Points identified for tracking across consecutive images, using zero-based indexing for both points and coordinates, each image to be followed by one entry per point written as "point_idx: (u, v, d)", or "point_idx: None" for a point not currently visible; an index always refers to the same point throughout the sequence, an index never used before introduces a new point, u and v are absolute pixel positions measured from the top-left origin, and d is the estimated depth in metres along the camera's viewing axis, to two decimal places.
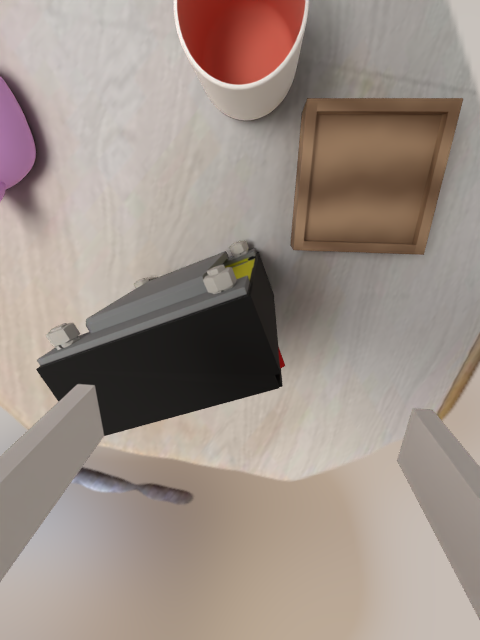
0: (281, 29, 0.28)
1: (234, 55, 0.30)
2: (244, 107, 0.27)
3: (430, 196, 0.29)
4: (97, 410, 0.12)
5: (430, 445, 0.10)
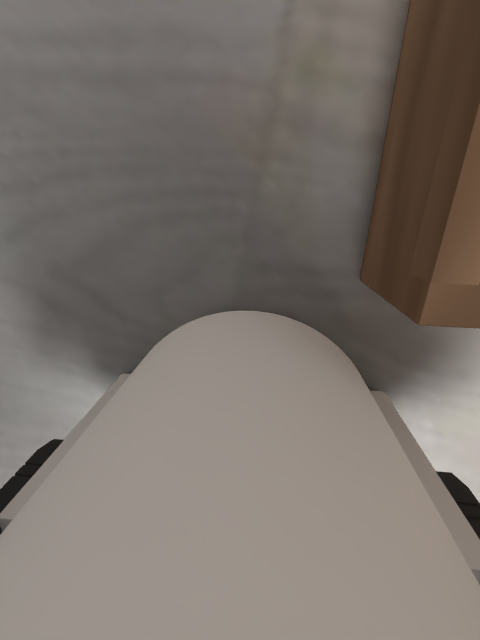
0: None
1: None
2: None
3: None
4: None
5: None
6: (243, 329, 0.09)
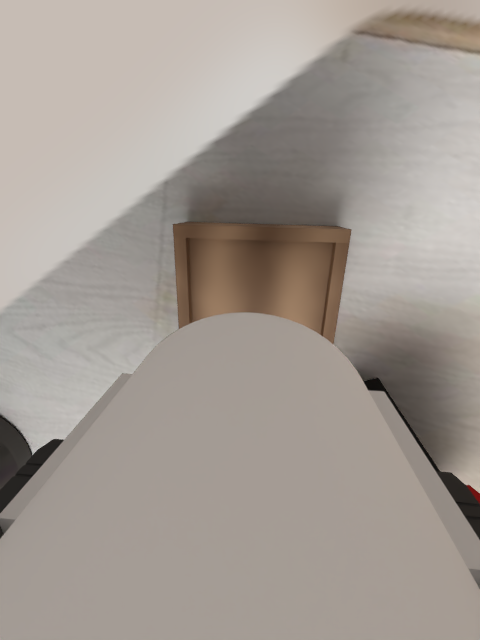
0: None
1: None
2: None
3: (275, 237, 0.23)
4: None
5: None
6: (243, 331, 0.09)
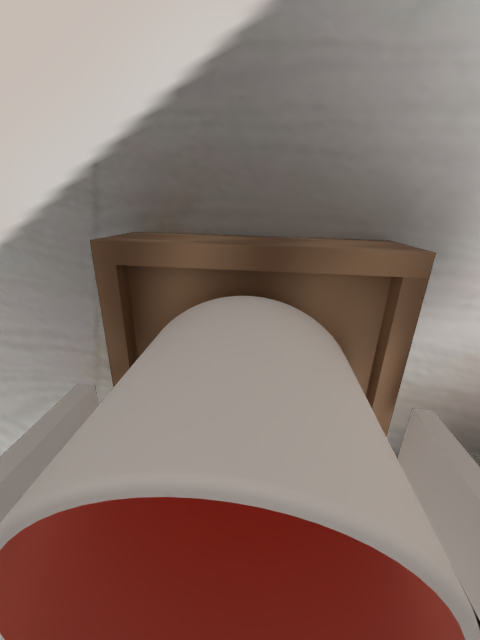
0: None
1: None
2: None
3: (284, 266, 0.12)
4: None
5: (430, 445, 0.10)
6: (237, 309, 0.10)
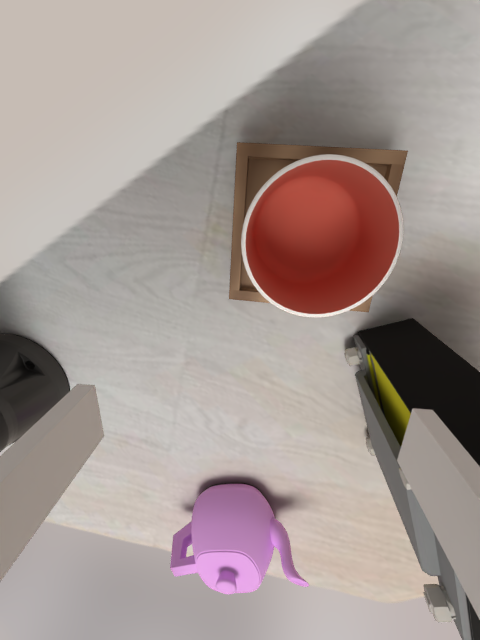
0: (278, 193, 0.26)
1: (293, 246, 0.28)
2: None
3: None
4: (97, 410, 0.12)
5: (430, 445, 0.10)
6: None
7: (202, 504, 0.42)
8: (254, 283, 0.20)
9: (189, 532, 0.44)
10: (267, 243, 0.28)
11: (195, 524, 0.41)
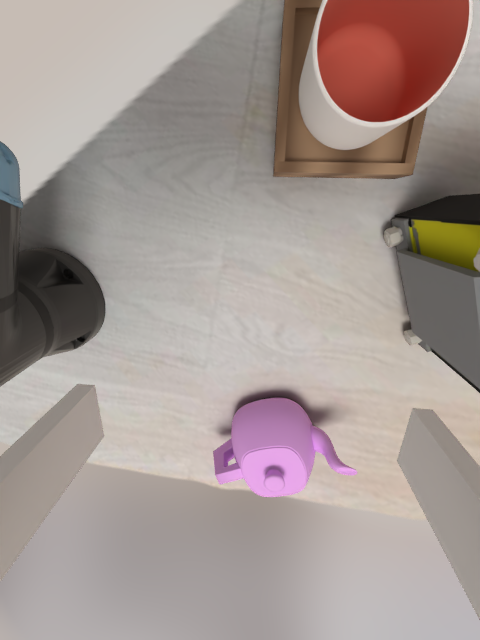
0: (324, 49, 0.27)
1: None
2: None
3: None
4: (97, 410, 0.12)
5: (430, 445, 0.10)
6: None
7: (242, 415, 0.43)
8: (324, 92, 0.20)
9: (229, 447, 0.45)
10: None
11: (237, 431, 0.41)
